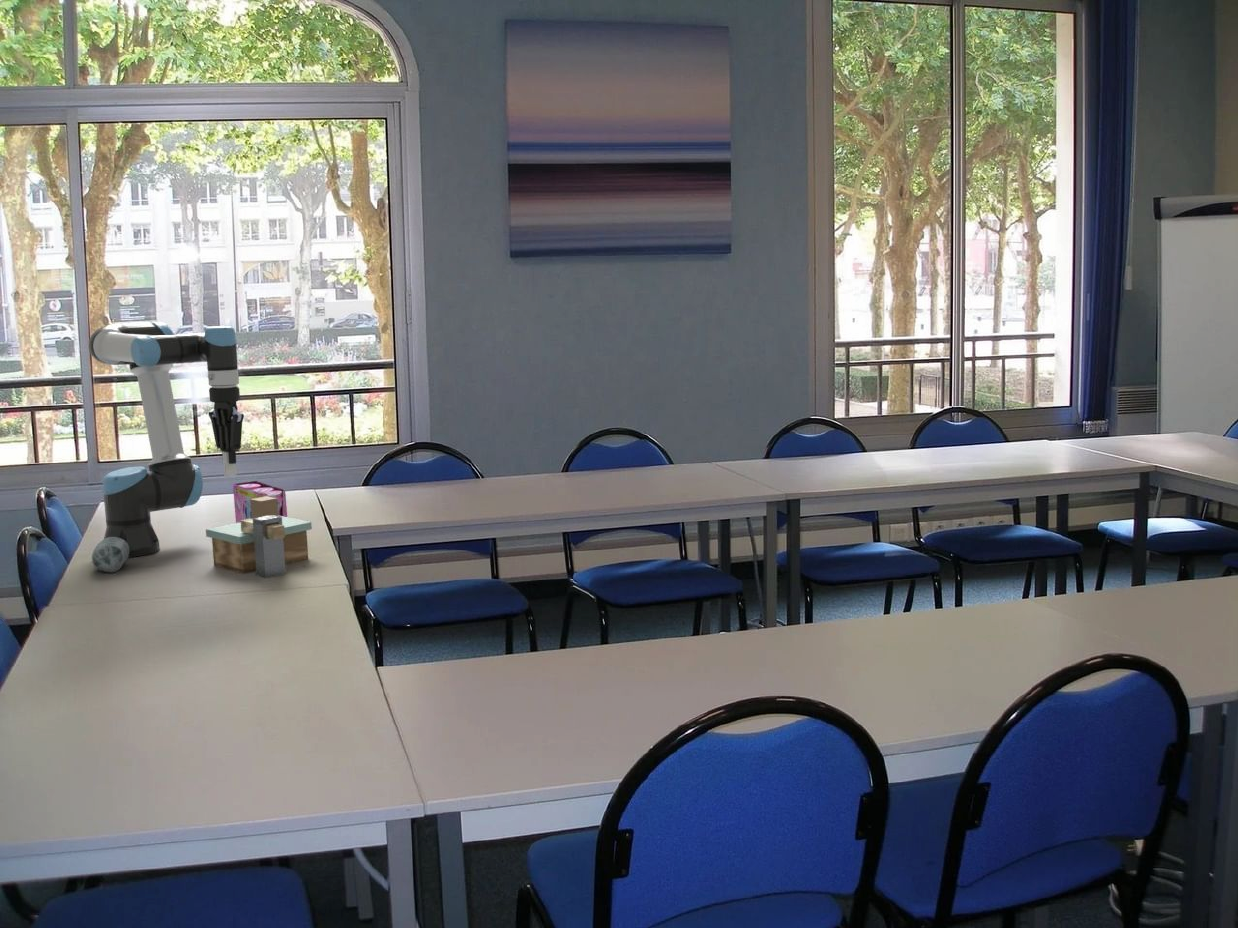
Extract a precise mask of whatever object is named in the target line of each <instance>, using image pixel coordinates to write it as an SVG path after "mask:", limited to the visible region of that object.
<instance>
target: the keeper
mask: <svg viewBox="0 0 1238 928" xmlns="http://www.w3.org/2000/svg"><path fill="white" fill-rule="evenodd" d="M271 523H275V524H279V525H282V517H281V516H276V515H269V516H264V517H259V518H254V519H253V531H254V545H255V560H256V571H255V572H256V576H257V577H259V578H263V579H268V578H272V577H276V576H281V575H284V574H286V564H285V556H284V541H283V538H278V539H272V538H267V537H266V526H265V525H266V524H271Z"/></svg>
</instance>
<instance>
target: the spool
mask: <svg viewBox="0 0 1238 928" xmlns="http://www.w3.org/2000/svg"><path fill="white" fill-rule="evenodd" d="M103 539H104V538H103ZM103 539H102V540H101V541H99V542H98V544H97V545H96V546H95V547H94V549H93V551H92V554H91V562H92V564H93V566H94V567H95V568H97V569H98V570H100V571H102V572H104V573H116V572H118V571H120V569H121V568H122V567H123V565H124V563H125V562H126V560H127V559H128V558H129V557H128V556H129V551H130V550H129V545H128V543H127V542H126V541H125V540H123V539H121V538H118V537H108V538H106V539H104V540H103Z"/></svg>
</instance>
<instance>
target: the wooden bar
mask: <svg viewBox="0 0 1238 928" xmlns="http://www.w3.org/2000/svg"><path fill="white" fill-rule="evenodd" d="M240 521H241V532H245V533H249V534H254V531H253V519H245V520H240ZM265 526H266V537H267V538H272V539H278V538H283V537H285V530H284V525H279V524H275V523H271V524H266V525H265Z"/></svg>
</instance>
